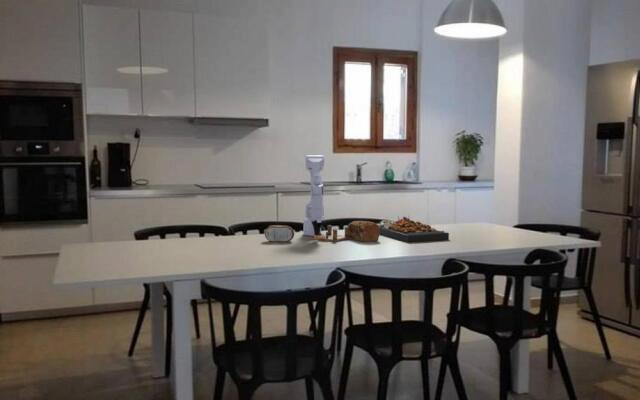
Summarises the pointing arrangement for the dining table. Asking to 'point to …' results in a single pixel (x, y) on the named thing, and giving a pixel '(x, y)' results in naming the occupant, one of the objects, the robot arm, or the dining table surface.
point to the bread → (364, 231)
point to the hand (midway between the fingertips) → (317, 235)
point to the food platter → (410, 231)
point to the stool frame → (334, 235)
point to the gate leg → (318, 236)
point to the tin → (279, 233)
